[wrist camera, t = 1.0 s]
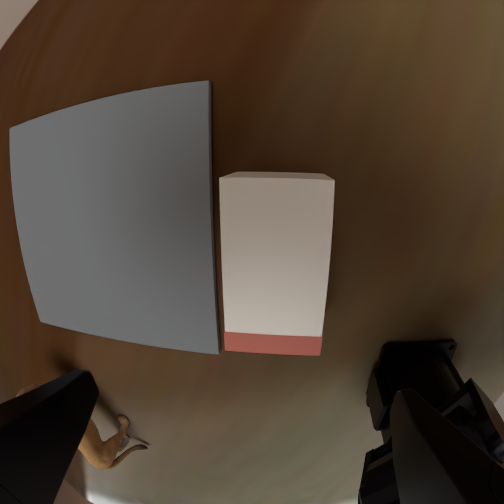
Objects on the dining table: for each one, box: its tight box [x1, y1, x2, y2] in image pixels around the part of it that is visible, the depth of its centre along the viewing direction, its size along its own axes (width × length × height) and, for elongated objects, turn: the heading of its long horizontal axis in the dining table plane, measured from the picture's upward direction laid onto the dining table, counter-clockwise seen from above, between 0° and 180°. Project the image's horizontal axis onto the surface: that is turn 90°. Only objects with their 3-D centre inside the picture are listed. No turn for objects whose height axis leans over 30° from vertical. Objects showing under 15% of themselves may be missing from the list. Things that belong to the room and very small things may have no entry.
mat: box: [10, 81, 221, 354], centre depth 19 cm, size 18×18×1 cm
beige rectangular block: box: [219, 172, 335, 356], centre depth 16 cm, size 5×9×5 cm, turn 1°
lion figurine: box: [16, 384, 148, 470], centre depth 22 cm, size 15×5×9 cm, turn 41°
